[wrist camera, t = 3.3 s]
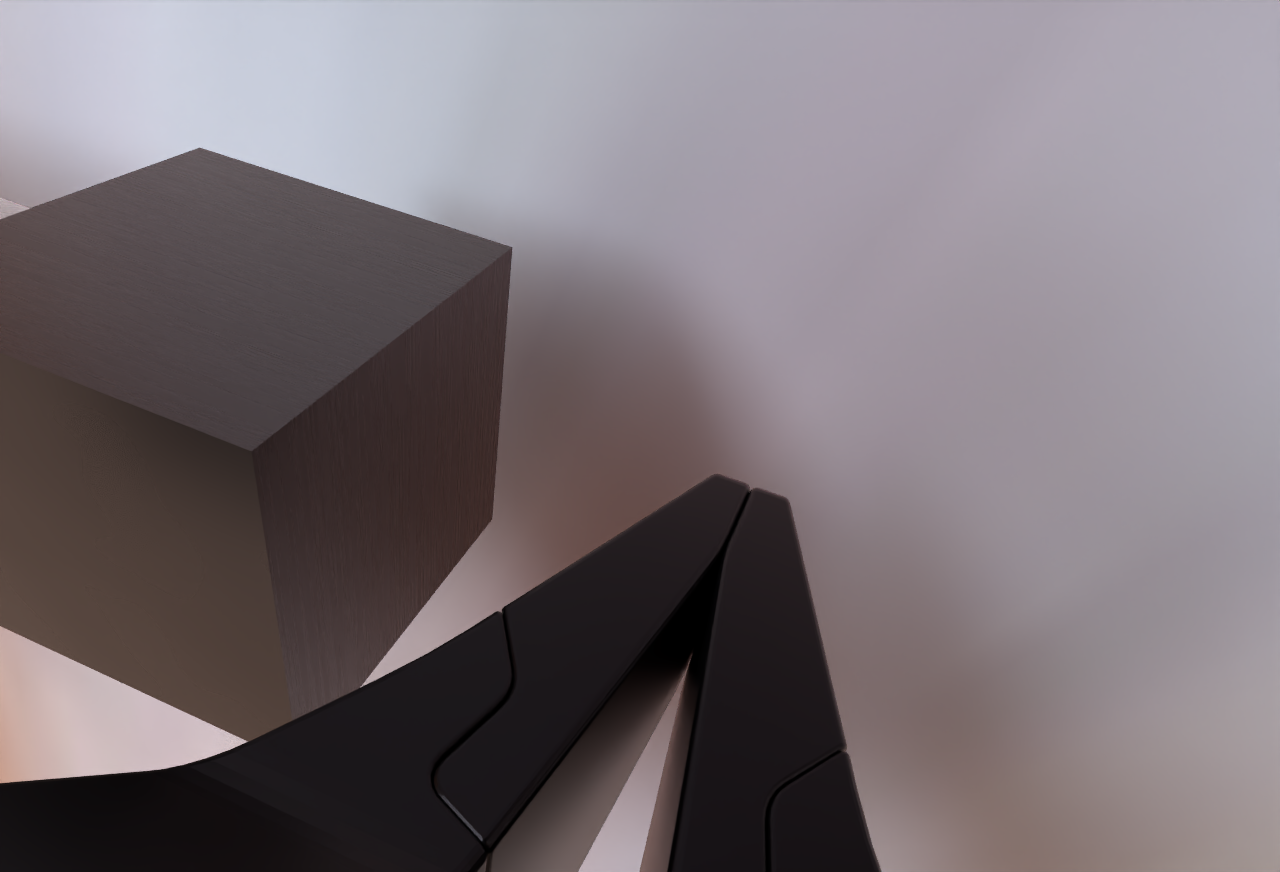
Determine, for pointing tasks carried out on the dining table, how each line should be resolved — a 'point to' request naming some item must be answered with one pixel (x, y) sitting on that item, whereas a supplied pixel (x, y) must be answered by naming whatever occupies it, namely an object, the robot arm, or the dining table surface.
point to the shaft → (239, 430)
